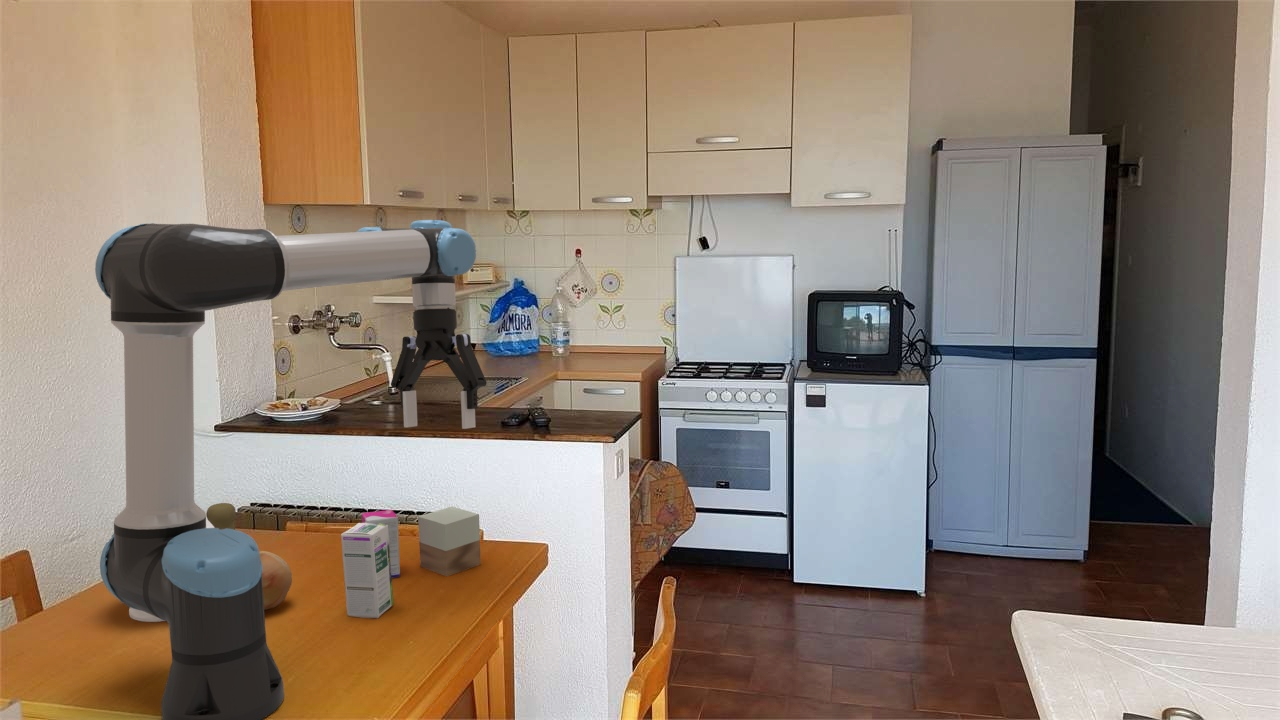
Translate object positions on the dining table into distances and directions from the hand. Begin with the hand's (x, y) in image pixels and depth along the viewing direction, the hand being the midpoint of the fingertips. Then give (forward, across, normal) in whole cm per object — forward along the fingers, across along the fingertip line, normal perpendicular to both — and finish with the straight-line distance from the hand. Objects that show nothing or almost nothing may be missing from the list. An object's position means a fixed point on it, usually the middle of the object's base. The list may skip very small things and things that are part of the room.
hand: (439, 427), depth 172 cm
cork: (+26, +47, +10) cm, 55 cm away
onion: (+29, +20, +22) cm, 42 cm away
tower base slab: (+27, +6, -8) cm, 29 cm away
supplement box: (+28, +14, +1) cm, 31 cm away
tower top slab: (+22, +5, -8) cm, 24 cm away
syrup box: (+30, +4, +15) cm, 33 cm away
